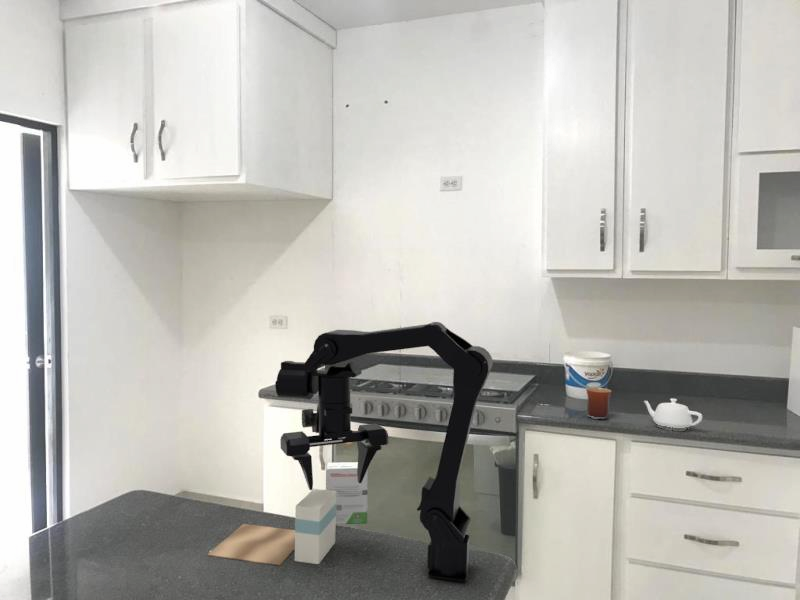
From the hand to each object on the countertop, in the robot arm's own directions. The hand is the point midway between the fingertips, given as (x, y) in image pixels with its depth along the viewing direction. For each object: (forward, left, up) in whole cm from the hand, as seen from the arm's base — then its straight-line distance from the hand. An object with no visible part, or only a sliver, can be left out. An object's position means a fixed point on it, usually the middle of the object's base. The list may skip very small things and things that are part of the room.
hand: (335, 486), depth 114 cm
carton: (+4, -1, -13) cm, 13 cm away
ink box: (+3, -16, -13) cm, 20 cm away
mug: (-55, -130, -13) cm, 141 cm away
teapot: (-79, -122, -13) cm, 146 cm away
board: (+15, -1, -13) cm, 20 cm away
